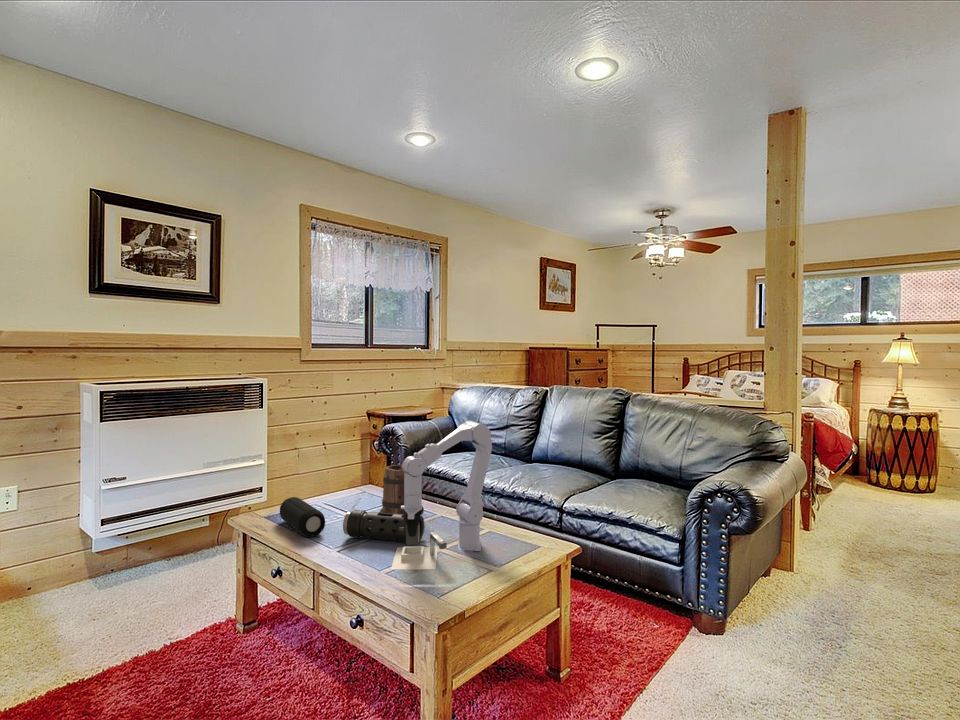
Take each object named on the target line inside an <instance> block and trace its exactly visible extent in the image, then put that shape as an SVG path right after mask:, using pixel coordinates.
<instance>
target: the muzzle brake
mask: <svg viewBox="0 0 960 720" xmlns="http://www.w3.org/2000/svg"><path fill="white" fill-rule="evenodd" d="M379 512H380V511H379ZM379 512H376V511H369V512H367V511H366V510H363V509H362V510H361V509H354V510H351V511H347V512H346V514H345V516H344V517H343V521H342V532H343V533H344V535H346V536H349V537H350V538H359V539H360V538H363V539H369V540H370V539H371V540H372V539H373V540H374V539H376V540H386V541H393V542H394V541H395V542H404V543H405V542H406V529H405V530H399V528H400V527H406V526H407V525H406V522H405V520H404V518H403V516H404V515H405V514H392V513H379ZM420 516H421V518H420V520H419V543H420V542H421V541H422V539H423V535H424V531H425V520H424V517H423V516H422V515H420Z"/></svg>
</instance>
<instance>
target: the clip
mask: <svg viewBox="0 0 960 720" xmlns="http://www.w3.org/2000/svg"><path fill="white" fill-rule="evenodd" d="M436 545H437V547H438V549H439V550H445V549H447V545H448V544H447V542H446V540H443V538H441V537H440V536H439V535H438V534H437V533H436V532H435V531H430V532H429V547H430V556H434V555H435V547H436Z"/></svg>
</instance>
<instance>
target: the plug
mask: <svg viewBox="0 0 960 720" xmlns="http://www.w3.org/2000/svg"><path fill="white" fill-rule="evenodd" d="M405 529H406V543H405V544H406V545H419V543H420V542H419V522H418V525H417V532H416V536H415V537H409V534H408V529H407V526H406V527H400V528H399V530H405Z"/></svg>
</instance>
